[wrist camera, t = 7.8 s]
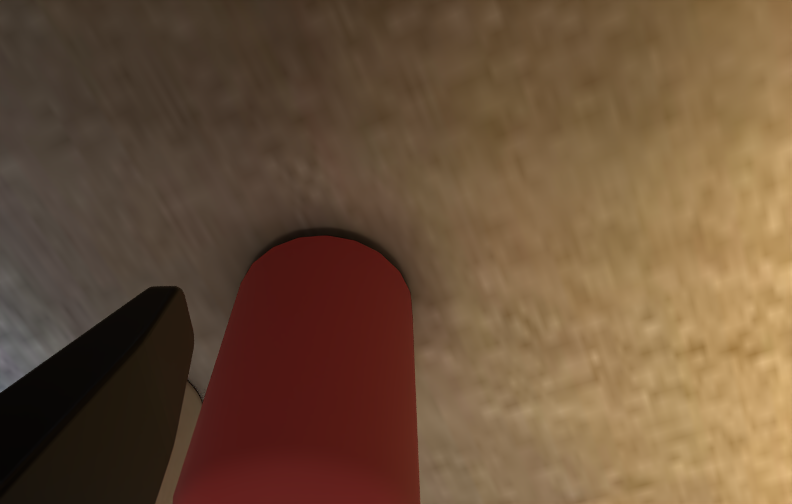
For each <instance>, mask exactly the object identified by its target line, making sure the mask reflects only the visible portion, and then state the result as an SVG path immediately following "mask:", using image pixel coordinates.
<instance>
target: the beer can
mask: <svg viewBox="0 0 792 504" xmlns="http://www.w3.org/2000/svg"><path fill="white" fill-rule="evenodd" d="M173 504H420V486H419V462H418V437H417V413H416V389H415V364H414V340H413V316H412V304H411V294H410V291H409V289H408V287H407V285H406V283H405V281H404V279H403V277H402V275H401V273H400V272H399V271H398V270H397V269H396V268H395V267H394V266H393V265H392V264H391V263H390V262H389V261H388V260H387V259H386V258H385V257H384V256H383V255H381V254H380V253H379V252H377V251H375V250H373V249H371V248H369V247H367V246H365V245H363V244H361V243H359V242H357V241H355V240H350V239H344V238H339V237H334V236H328V235H324V236H311V237H299V238H296V239H294V240H291V241H288V242H286V243H283V244H280V245H278V246H275V247H273V248H271V249H270V250H269V251H268V252H266V253H265V254H264V255H263V256H261V257H260V258H259V259H258V260H256V261H255V262H254V263H253V264H252V265H251V267H250V269H249V270H248V272H247V274H246V275H245V277H244V279H243V281H242V282H241V284H240V287H239V291H238V294H237V297H236V300H235V303H234V306H233V309H232V313H231V316H230V319H229V322H228V325H227V328H226V331H225V335H224V338H223V341H222V344H221V347H220V350H219V354H218V357H217V360H216V363H215V366H214V369H213V372H212V376H211V379H210V382H209V385H208V388H207V391H206V394H205V398H204V401H203V404H202V407H201V410H200V413H199V416H198V420H197V423H196V426H195V429H194V432H193V435H192V438H191V442H190V445H189V448H188V451H187V454H186V457H185V460H184V464H183V467H182V470H181V473H180V476H179V479H178V482H177V486H176V489H175V492H174V495H173Z"/></svg>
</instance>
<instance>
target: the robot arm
mask: <svg viewBox="0 0 792 504" xmlns="http://www.w3.org/2000/svg"><path fill="white" fill-rule="evenodd" d="M193 348H194V333H193V328H192V324H191V320H190V315H189V311H188V307H187V303H186V299H185V295H184V293H183V291H182V289H181V288H179V287H177V286H155V287H150V288H148V289H146V290H145V291H143V292H142V293H141V294H139V295H138V296H136V297H135V298H134V299H132V300H131V301H129V302H128V303H126V304H125V305H124V306H122V307H121V308H119V309H118V310H117V311H115V312H114V313H112V314H111V315H110V316H108V317H107V318H105V319H104V320H102V321H101V322H100V323H98V324H97V325H95V326H94V327H93V328H91V329H90V330H88V331H87V332H86V333H84V334H83V335H81V336H80V337H79V338H77V339H76V340H74V341H73V342H71V343H70V344H69V345H67V346H66V347H64V348H63V349H62V350H60V351H59V352H57V353H56V354H55V355H53V356H52V357H50V358H49V359H47V360H46V361H45V362H43V363H42V364H40V365H39V366H38V367H36V368H35V369H33V370H32V371H31V372H29V373H28V374H26V375H25V376H24V377H22V378H21V379H19V380H18V381H16V382H15V383H14V384H12V385H11V386H9V387H8V388H7V389H5V390H4V391H2V392H1V393H0V504H155V503H156V500H157V497H158V494H159V491H160V488H161V485H162V482H163V479H164V476H165V473H166V469H167V466H168V463H169V460H170V457H171V453H172V450H173V447H174V443H175V439H176V434H177V430H178V425H179V420H180V414H181V409H182V404H183V399H184V394H185V389H186V384H187V379H188V374H189V369H190V364H191V358H192V353H193Z"/></svg>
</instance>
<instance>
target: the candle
mask: <svg viewBox="0 0 792 504" xmlns="http://www.w3.org/2000/svg"><path fill="white" fill-rule="evenodd" d="M201 407H202V401H201V399H200V397H199V395H198V393H197V392H196V390H195V389H194V388H193V387H192V385H190V384H189V383H188V382H187V384H186V389H185V394H184V399H183V404H182V409H181V414H180V420H179V425H178V430H177V434H176V439H175V443H174V447H173V450H172V453H171V457H170V460H169V463H168V466H167V469H166V473H165V476H164V479H163V482H162V485H161V488H160V491H159V494H158V497H157V500H156V503H155V504H173V495H174V492H175V489H176V486H177V482H178V479H179V476H180V473H181V470H182V467H183V464H184V460H185V457H186V454H187V451H188V448H189V445H190V442H191V438H192V435H193V432H194V429H195V426H196V423H197V420H198V416H199V413H200V410H201Z"/></svg>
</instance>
